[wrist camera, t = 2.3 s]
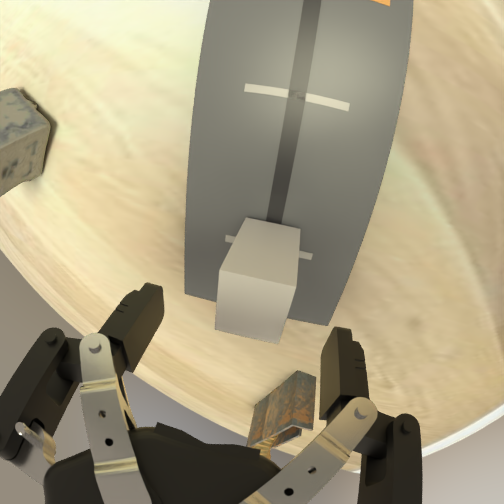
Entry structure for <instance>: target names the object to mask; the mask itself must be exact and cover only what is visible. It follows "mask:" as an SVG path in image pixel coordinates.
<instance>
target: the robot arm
mask: <svg viewBox="0 0 504 504" xmlns="http://www.w3.org/2000/svg"><path fill="white" fill-rule="evenodd" d="M163 316H164V299H163V288H162V287H161V286H158V285H155V284H151V283H148V282H147V283H145V284H144V286H143V287H142V288H141V290H140V291H137V290H134V291H132V292H131V293H129V294H127V295H126V296H125V297H124V298H123V300H122V301H121V302H120V304H119V305H118V306H117V308H116V310H114V311H113V313H112V314H111V315H110V317H109V318H108V320H107V321H106V322H105V324H104V325H103V326H102V328H101V329H100V330H99V332H98V333H92V334H89V335H87V336H85V337H84V338H83V339H75V338H68V337H65V335H64V333H63V331H62V330H61V329H59V328H49V329H47V330H45V331H44V332H43V333H42V334H41V335H40V337H39V338H38V339H37V341H36V342H35V343H34V345H33V346H32V348H31V349H30V350H29V352H28V353H27V355H26V356H25V358H24V359H23V361H22V362H21V364H20V365H19V367H18V368H17V370H16V372H15V373H14V375H13V376H12V378H11V379H10V381H9V383H8V384H7V386H6V388H5V389H4V391H3V393H2V395H1V396H0V457H1V458H2V459H3V460H5V461H7V462H9V463H10V464H12V465H14V466H15V467H18V468H19V469H20V470H21V471H23V472H24V473H26V474H27V475H28V476H29V477H31V478H32V479H34V480H35V481H36V482H38V483H40V484H41V485H42V486H43V487H44V495H45V504H307V503H308V502H309V501H310V500H311V499H312V498H313V497H314V496H315V495H316V494H317V493H318V492H319V491H320V490H321V489H322V488H323V487H324V486H325V485H326V484H327V483H328V482H329V481H330V480H331V479H332V478H333V477H334V475H335V474H336V473H337V472H338V471H339V470H340V469H341V468H342V467H343V465H344V464H345V463H346V462H347V461H348V459H349V457H350V456H349V455H350V453H351V452H352V451H355V452H358V453H361V454H362V458H361V472H360V484H359V494H358V502H357V504H422V450H421V435H420V426H419V423H418V421H417V419H416V418H415V417H414V416H412V415H410V414H401V415H399V416H397V417H396V418H394V417H391V416H389V415H386V414H383V413H381V412H379V411H377V408H376V406H375V404H374V403H373V402H372V401H371V400H370V399H369V390H368V381H367V372H366V364H365V356H364V350H363V349H362V347H361V345H360V343H359V342H356V341H353V340H352V332H351V329H347V328H341V327H334V328H333V330H332V332H331V334H330V336H329V338H328V340H327V342H326V343H325V345H324V347H323V350H322V354H321V378H320V412H319V419H320V420H327V425H326V427H325V428H324V430H323V431H322V432H321V433H320V434H319V435H318V436H317V437H316V438H315V439H314V440H313V441H312V442H311V443H310V444H309V445H308V446H306V447H305V448H304V449H303V450H302V451H301V452H300V453H299V454H298V455H297V456H296V457H295V458H294V459H292V460H291V461H290V462H289V463H288V464H287V465H286V466H284V467H283V468H282V469H280V468H279V467H278V466H277V465H276V464H275V463H274V462H272V461H271V460H270V459H268V458H266V457H264V456H262V455H260V451H261V449H256V448H250V447H244V446H240V445H234V444H206V443H203V442H202V441H200V440H198V439H196V438H194V437H192V436H191V435H189V434H187V433H186V432H184V431H182V430H179V429H176V428H173V427H170V426H167V425H164V424H161V423H159V422H157V425H156V427H140V428H137V425H136V422H135V420H134V417H133V415H132V412H131V409H130V405H129V401H128V398H127V394H126V390H125V386H124V382H123V377H122V375H123V373H124V371H125V370H127V371H129V372H132V373H133V372H134V370H135V368H136V366H137V365H138V363H139V361H140V359H141V357H142V355H143V354H144V352H145V350H146V348H147V347H148V345H149V343H150V341H151V339H152V338H153V336H154V334H155V332H156V331H157V329H158V327H159V325H160V324H161V322H162V319H163ZM80 382H82V383H83V386H82V387H80V397H81V404H82V410H83V415H84V421H85V426H86V432H87V436H88V440H89V445H90V449H88V450H86V451H84V452H81V453H78V454H76V455H74V456H71V457H69V458H66V459H64V460H61V461H58V462H56V463H55V459H54V455H55V454H56V445H55V441H54V439H53V435H54V433H55V431H56V429H57V426H58V424H59V422H60V420H61V418H62V416H63V414H64V412H65V410H66V408H67V406H68V404H69V402H70V400H71V398H72V396H73V394H74V392H75V390H76V389H77V387H78V385H79V383H80Z"/></svg>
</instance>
